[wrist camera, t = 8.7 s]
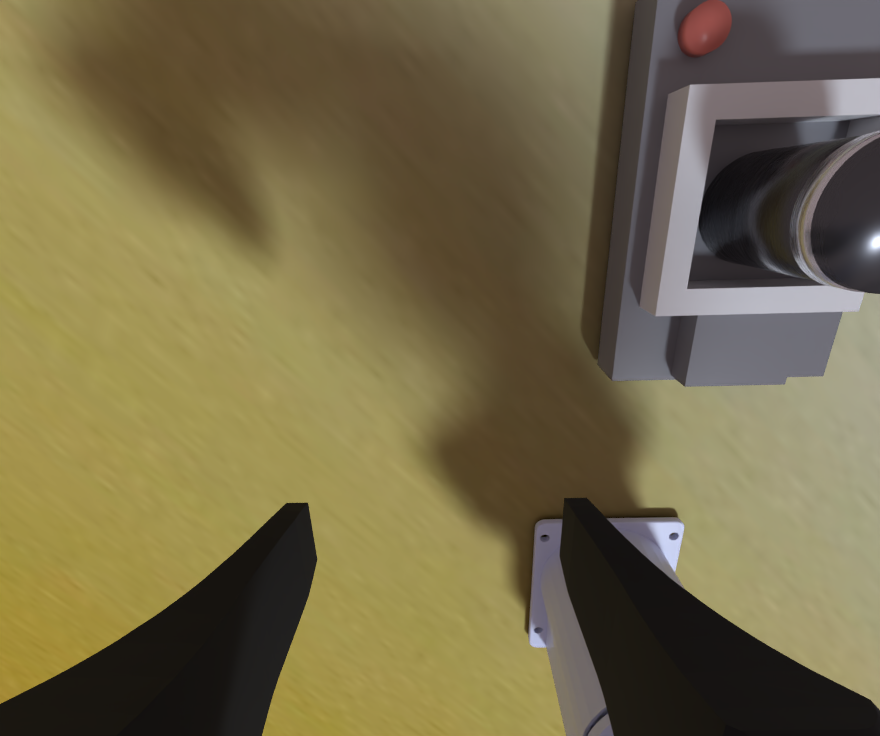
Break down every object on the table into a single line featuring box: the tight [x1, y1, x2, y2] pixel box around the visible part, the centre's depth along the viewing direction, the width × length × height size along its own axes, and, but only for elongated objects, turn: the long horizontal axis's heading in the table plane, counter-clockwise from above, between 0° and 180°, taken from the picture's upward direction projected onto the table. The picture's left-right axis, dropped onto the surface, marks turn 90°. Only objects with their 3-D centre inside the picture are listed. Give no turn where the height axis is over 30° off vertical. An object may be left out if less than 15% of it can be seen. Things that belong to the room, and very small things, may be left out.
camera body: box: [597, 0, 880, 387], centre depth 17 cm, size 14×9×4 cm, turn 1°
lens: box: [699, 131, 880, 294], centre depth 14 cm, size 4×4×6 cm
